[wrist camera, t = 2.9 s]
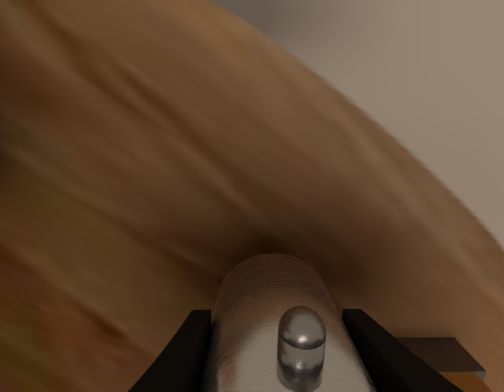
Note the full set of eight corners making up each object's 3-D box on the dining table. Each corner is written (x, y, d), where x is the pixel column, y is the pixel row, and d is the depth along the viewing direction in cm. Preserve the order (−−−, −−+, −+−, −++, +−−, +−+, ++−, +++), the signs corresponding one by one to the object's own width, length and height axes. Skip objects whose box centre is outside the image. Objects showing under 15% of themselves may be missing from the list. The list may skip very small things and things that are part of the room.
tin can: (323, 349, 12) (408, 597, 6) (217, 350, 12) (185, 603, 5) (334, 218, 10) (468, 357, 4) (213, 218, 10) (163, 361, 4)
